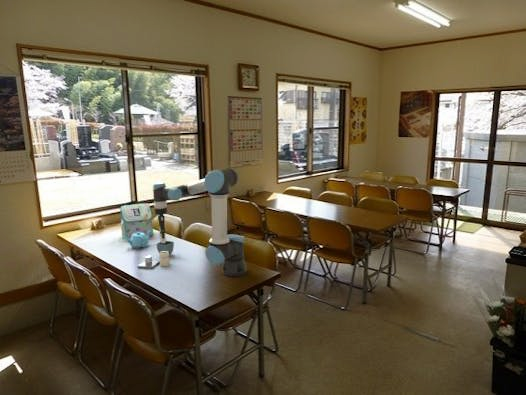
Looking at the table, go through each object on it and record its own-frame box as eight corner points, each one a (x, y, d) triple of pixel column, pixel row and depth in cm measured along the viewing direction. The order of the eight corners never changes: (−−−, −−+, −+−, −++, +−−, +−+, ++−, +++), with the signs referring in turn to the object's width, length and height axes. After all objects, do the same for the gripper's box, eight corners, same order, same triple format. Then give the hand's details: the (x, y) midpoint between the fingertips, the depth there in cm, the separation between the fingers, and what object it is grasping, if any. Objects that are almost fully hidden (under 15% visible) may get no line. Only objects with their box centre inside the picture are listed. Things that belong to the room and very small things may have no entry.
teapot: (135, 243, 293) (133, 228, 291) (152, 243, 291) (151, 229, 289) (125, 250, 278) (124, 235, 276) (143, 250, 276) (142, 235, 274)
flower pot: (164, 252, 272) (163, 240, 270) (175, 253, 269) (174, 241, 267) (156, 256, 264) (155, 244, 262) (167, 258, 261) (167, 245, 259)
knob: (169, 262, 254) (168, 250, 252) (169, 265, 248) (169, 253, 246) (159, 263, 252) (158, 251, 250) (160, 266, 246) (159, 254, 245)
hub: (159, 263, 252) (159, 254, 250) (152, 269, 242) (151, 260, 241) (145, 262, 254) (145, 253, 253) (137, 267, 244) (137, 258, 243)
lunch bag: (124, 241, 297) (121, 207, 291) (120, 236, 310) (117, 203, 305) (154, 237, 308) (152, 204, 302) (149, 232, 322) (147, 200, 316)
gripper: (153, 203, 252) (155, 234, 257) (155, 212, 229) (157, 246, 233) (165, 202, 255) (167, 233, 259) (168, 211, 231) (170, 245, 236)
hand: (162, 239), depth 246 cm, fingers open, 13 cm apart
